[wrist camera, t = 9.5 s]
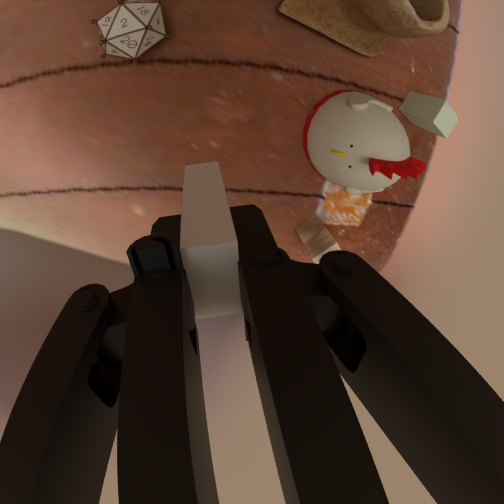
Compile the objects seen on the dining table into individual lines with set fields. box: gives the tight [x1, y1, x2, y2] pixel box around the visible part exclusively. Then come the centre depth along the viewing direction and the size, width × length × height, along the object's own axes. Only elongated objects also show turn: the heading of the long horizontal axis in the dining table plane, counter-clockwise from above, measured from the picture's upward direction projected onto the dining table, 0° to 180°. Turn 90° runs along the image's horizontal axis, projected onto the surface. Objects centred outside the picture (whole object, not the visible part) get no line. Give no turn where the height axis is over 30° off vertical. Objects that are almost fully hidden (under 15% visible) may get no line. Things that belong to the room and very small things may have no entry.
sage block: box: [399, 91, 459, 139], centre depth 33 cm, size 4×4×8 cm
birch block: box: [295, 214, 341, 264], centre depth 43 cm, size 4×4×8 cm
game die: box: [90, 0, 173, 66], centre depth 22 cm, size 9×8×10 cm
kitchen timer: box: [303, 90, 426, 195], centre depth 32 cm, size 14×14×15 cm
